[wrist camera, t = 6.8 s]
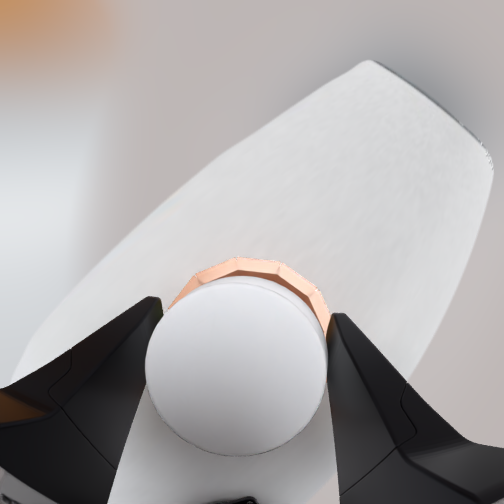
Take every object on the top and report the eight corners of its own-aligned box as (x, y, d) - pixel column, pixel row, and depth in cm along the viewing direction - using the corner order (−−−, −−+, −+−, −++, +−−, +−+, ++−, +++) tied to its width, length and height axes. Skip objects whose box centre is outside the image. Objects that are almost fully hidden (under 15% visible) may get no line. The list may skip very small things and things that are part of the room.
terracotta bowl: (346, 376, 20) (360, 383, 17) (211, 432, 19) (204, 447, 16) (287, 246, 22) (292, 233, 19) (156, 301, 21) (140, 296, 18)
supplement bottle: (202, 295, 16) (129, 240, 7) (302, 302, 16) (363, 257, 6) (193, 393, 15) (113, 459, 5) (295, 401, 14) (343, 484, 5)
